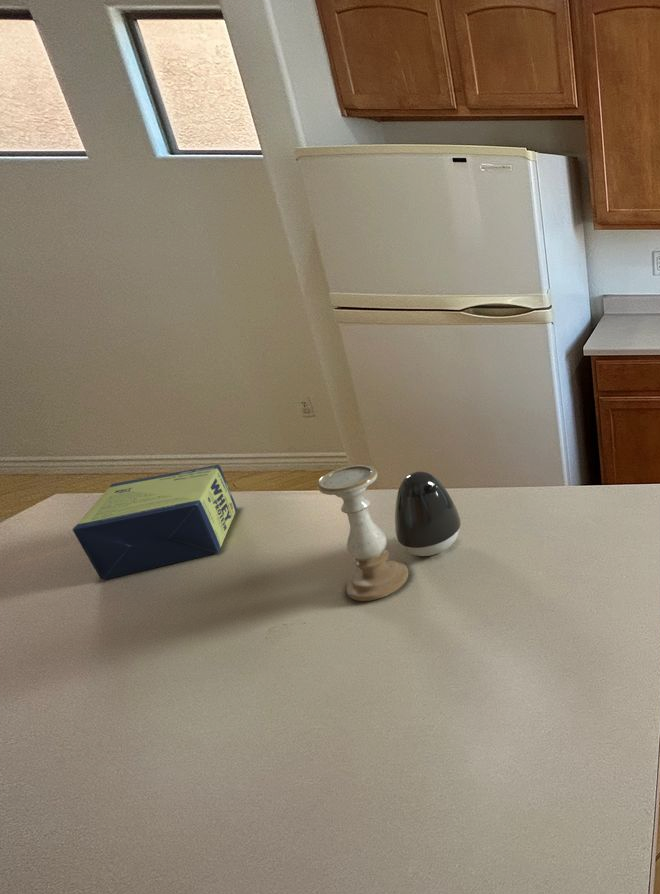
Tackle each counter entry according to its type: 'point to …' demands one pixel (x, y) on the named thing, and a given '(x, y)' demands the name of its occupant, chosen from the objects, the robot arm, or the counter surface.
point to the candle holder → (364, 535)
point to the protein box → (157, 521)
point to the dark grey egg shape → (425, 515)
